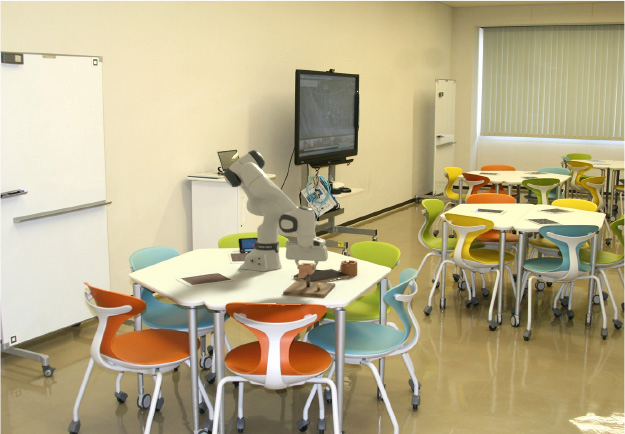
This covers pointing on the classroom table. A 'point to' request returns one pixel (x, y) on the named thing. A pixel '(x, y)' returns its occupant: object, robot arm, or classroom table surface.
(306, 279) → the post
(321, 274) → the hardcover book
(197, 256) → the classroom table surface
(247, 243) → the small monitor
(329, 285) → the board
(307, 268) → the orange square-holed tool
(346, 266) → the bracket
